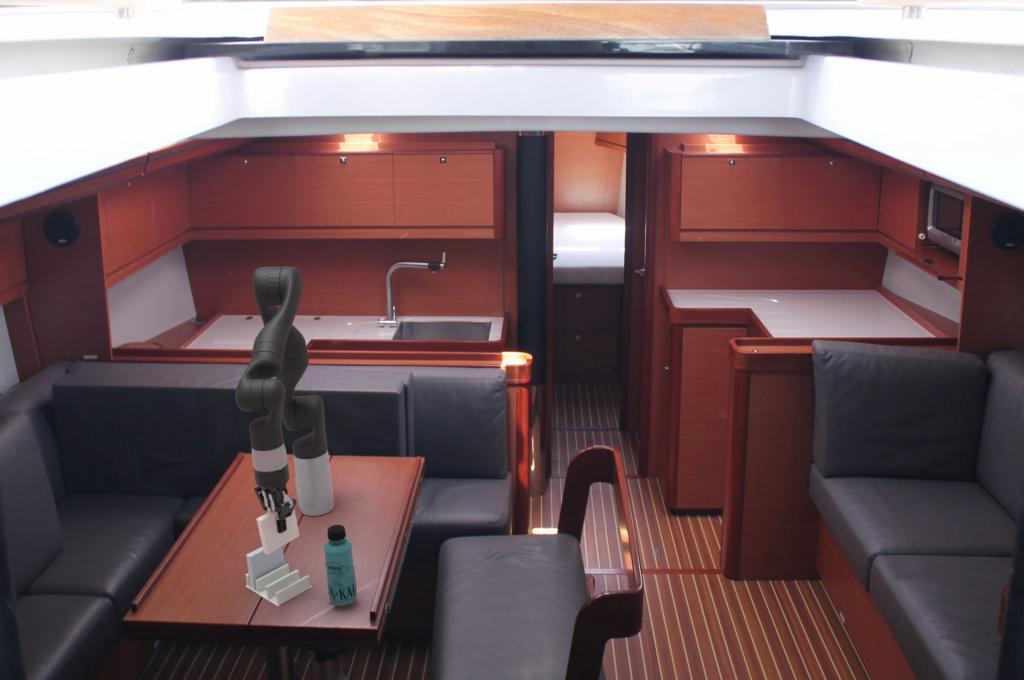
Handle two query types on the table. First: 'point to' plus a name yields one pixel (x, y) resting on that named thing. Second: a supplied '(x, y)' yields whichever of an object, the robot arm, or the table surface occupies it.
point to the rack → (280, 585)
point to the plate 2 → (263, 563)
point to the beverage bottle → (340, 567)
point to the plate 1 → (270, 534)
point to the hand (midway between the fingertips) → (279, 530)
